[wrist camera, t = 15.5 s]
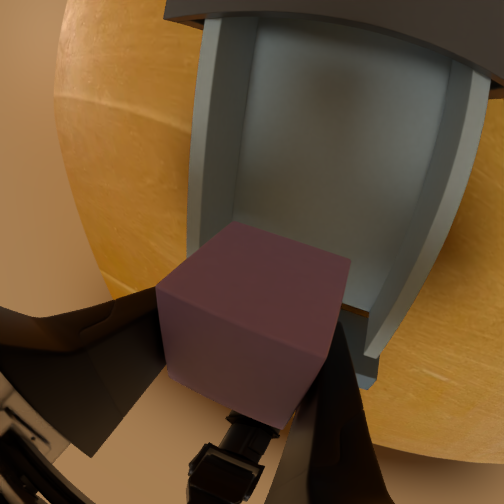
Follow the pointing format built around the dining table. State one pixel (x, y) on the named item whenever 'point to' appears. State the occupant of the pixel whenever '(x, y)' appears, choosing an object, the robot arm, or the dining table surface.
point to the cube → (251, 320)
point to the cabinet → (384, 24)
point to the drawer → (335, 154)
